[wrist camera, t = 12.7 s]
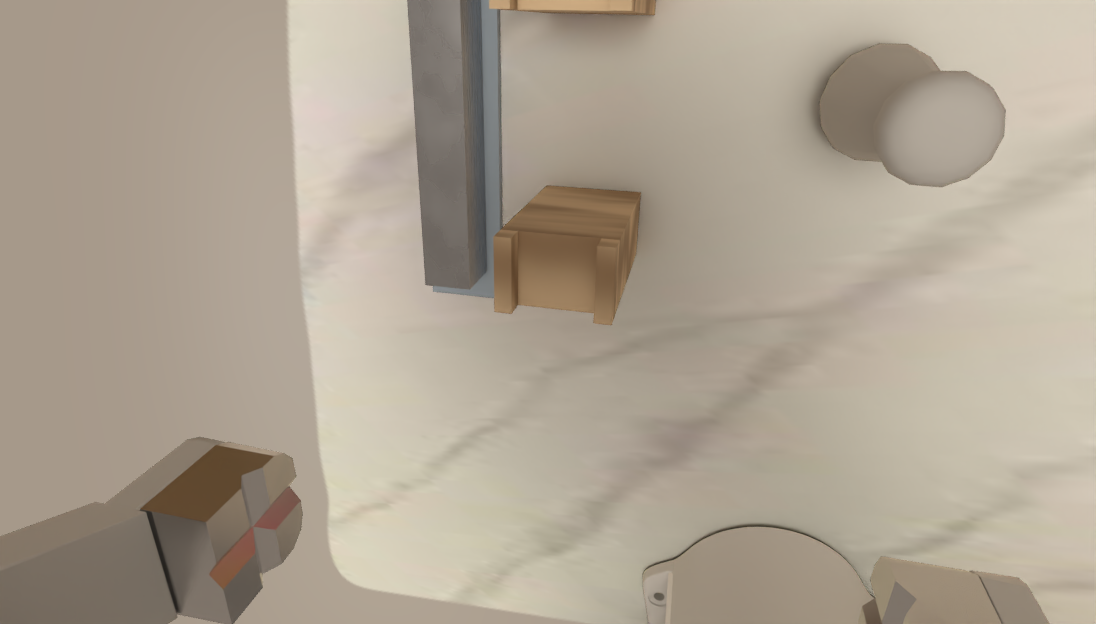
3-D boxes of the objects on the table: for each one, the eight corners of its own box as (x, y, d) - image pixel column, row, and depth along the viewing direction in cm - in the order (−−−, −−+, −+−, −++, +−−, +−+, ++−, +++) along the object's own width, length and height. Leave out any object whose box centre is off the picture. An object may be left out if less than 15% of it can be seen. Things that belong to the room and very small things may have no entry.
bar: (487, 271, 44) (469, 289, 41) (445, 266, 45) (425, 284, 42) (478, -109, 35) (455, -122, 32) (426, -108, 36) (399, -121, 33)
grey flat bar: (503, 296, 45) (500, 298, 45) (435, 288, 46) (433, 291, 46) (497, -153, 35) (495, -156, 34) (410, -150, 36) (406, -152, 35)
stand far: (636, 253, 42) (611, 325, 32) (545, 245, 43) (494, 311, 33) (640, 192, 40) (616, 247, 30) (546, 185, 41) (493, 236, 31)
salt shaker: (829, 168, 37) (881, 233, 26) (799, 71, 35) (840, 93, 24) (941, 128, 35) (1054, 178, 23) (915, 22, 33) (1022, 20, 22)
